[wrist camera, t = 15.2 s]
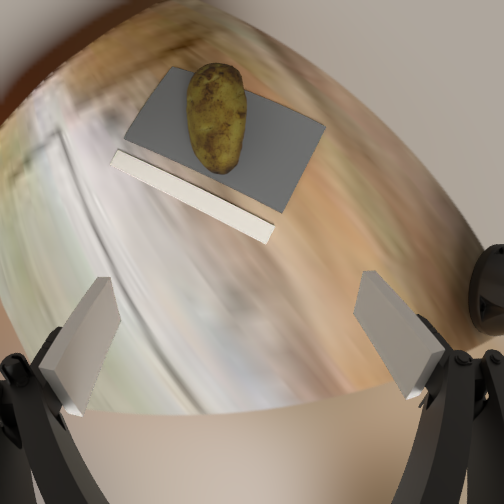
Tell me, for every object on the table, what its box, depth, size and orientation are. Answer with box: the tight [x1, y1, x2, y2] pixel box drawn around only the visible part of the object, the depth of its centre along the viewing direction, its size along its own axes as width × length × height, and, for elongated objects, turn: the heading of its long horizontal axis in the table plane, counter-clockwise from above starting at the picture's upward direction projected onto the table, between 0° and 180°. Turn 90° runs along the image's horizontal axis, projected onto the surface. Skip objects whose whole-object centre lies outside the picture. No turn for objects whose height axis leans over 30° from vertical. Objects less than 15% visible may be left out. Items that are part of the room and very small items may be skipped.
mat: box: [124, 67, 326, 213], centre depth 34 cm, size 24×13×1 cm, turn 63°
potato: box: [186, 63, 247, 175], centre depth 29 cm, size 8×13×8 cm, turn 164°
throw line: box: [110, 150, 275, 244], centre depth 34 cm, size 24×2×1 cm, turn 63°
